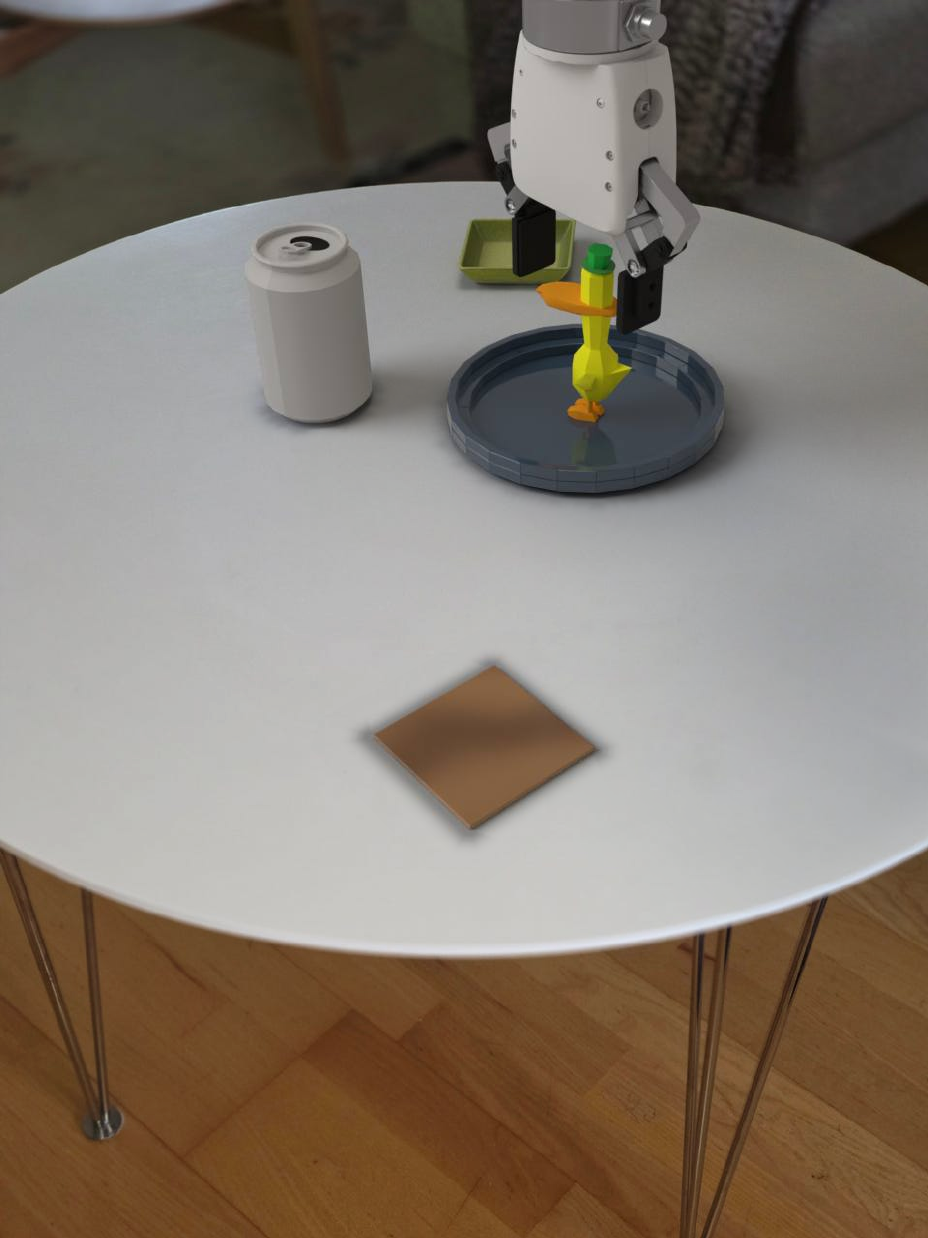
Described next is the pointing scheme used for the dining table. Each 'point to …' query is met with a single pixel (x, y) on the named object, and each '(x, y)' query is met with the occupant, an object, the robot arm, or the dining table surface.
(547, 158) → the robot arm
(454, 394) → the plate
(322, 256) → the can
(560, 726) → the coaster
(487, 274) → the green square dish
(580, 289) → the toy figure
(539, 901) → the dining table surface
